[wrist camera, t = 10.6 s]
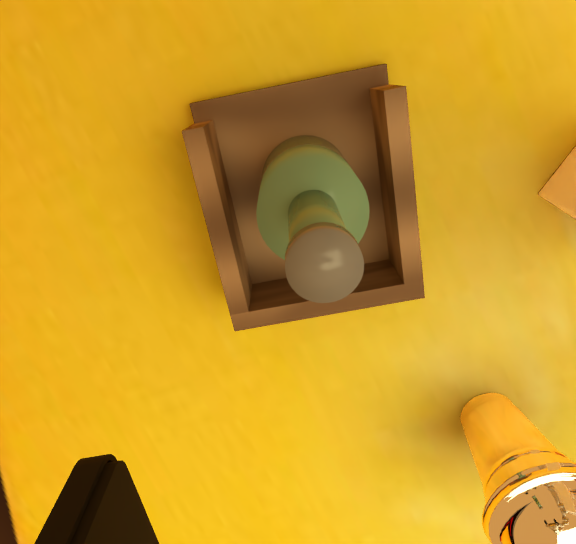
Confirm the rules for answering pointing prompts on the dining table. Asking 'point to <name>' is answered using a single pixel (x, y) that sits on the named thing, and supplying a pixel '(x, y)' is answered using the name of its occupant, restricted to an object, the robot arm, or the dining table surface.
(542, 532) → the cup with straw
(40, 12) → the dining table surface
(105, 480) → the robot arm
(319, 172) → the bottle
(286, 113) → the u rest
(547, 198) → the milk
